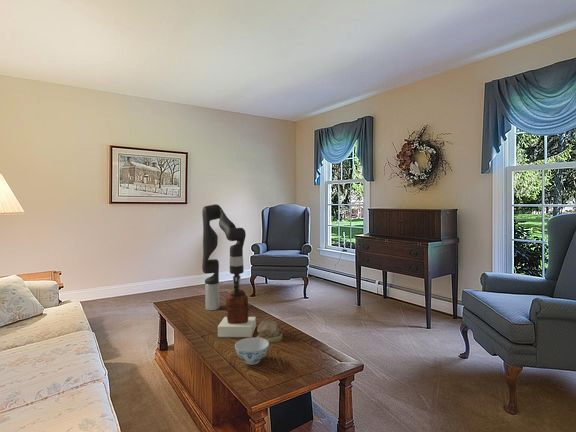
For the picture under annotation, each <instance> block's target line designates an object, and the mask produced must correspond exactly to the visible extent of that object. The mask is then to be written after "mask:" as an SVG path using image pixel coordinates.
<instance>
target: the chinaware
mask: <svg viewBox="0 0 576 432" xmlns="http://www.w3.org/2000/svg"><path fill="white" fill-rule="evenodd" d="M269 347H270V342H268V341H267V340H265V339H263V338H257V337H244V338H243V339H239V340H238V341H237V342H235V344H234V348H235V352H236V354H237V356H238V357H239V358H240V359H241V360H242V361H243V362H244V363H245V364H247V365H254V366H255V365H257V364H258V363H260V361H261V360H262V359H264V357H265V356H266V354H267V353H268V349H269Z"/></svg>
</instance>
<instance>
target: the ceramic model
mask: <svg viewBox="0 0 576 432" xmlns="http://www.w3.org/2000/svg"><path fill="white" fill-rule="evenodd" d="M279 327H280V326H279V324H278V322H276V321H275V320H271V319H270V318H267V319H266V320H262V321H261V322H260V323H259V324H258V325H257V331H256V332H257V334H256V335H257V336H256V338H263V339H265V340H267V341H268V342H269V343H277V342H281V341H282V340H283V333H282V332H280V328H279Z"/></svg>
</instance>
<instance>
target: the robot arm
mask: <svg viewBox="0 0 576 432" xmlns="http://www.w3.org/2000/svg"><path fill="white" fill-rule="evenodd" d="M201 211H202V212H201V213H202V214H201V215H202V227H203V228H202V230H203V231H202V232H203V233H202V250H203V251H202V252H203V253H202V266H201V267H202V273H204V274H212V275H210V276H209V277H207V278H205V280H204V299H205V303H204V304H205V310H206V311H216V310H219V309H220V277H219V274H220V272H219V269H220V261H219V260H218V258H217V259H216V258H215V259H214V258H213V259H210V256H212V254H213V253H214V251H215V250H216V249H217V247H218V242H219V241H218V240H219V239H218V238H219V237H218V234H217V233H216V231H215V230H214V229H213V227H212V226H211V223H210V222H211V221H214V220H219V221H218V226H219V229H221V230H222V231H223V232H224V234H225V237H226V240H228V241H230V242H236V243H235V244H232V245H230V247H229V273H230V274H232V275H233V277H232V281H233V283H232V284H233V290H235V296H239V289H240V285H241V279H242V278H241V274H244V254H243V253H244V252H243V251H244V250H243V248H244V244H245V241H246V236H247V235H246V234H247V233H246V230H245V229H244V228H243V227H237V226H236V225H235V223H234V222H233V221H232V220H231V219H229V217H228V216H227V215H226V213H225V211H224V210H223V208H222V207H221V206H220V205H219V204H209V205H204V206H203V208H202V210H201Z"/></svg>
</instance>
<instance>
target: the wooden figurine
mask: <svg viewBox="0 0 576 432" xmlns="http://www.w3.org/2000/svg"><path fill="white" fill-rule="evenodd" d="M225 297H226V298H225V303H226V305H225V306H226V312H227V313H226V314H227V315H226V317H227V321H228V323H246V322H248V317H249V307H248V306H249V301H248V300H249V297H248V296H247V294H246V292H245V291H244V290H243V289H241V288H239V296H235V289H233V290H232V291H230V293H229V294H227V296H225Z"/></svg>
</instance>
